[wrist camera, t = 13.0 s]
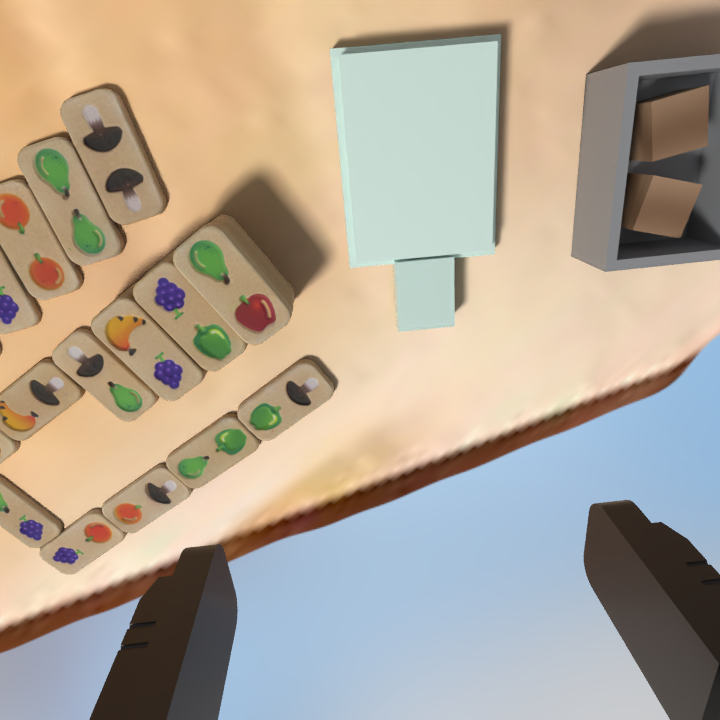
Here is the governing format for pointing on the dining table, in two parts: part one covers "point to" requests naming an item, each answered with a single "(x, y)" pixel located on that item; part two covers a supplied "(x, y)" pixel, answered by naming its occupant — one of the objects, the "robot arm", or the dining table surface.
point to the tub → (643, 167)
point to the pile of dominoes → (131, 325)
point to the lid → (419, 163)
